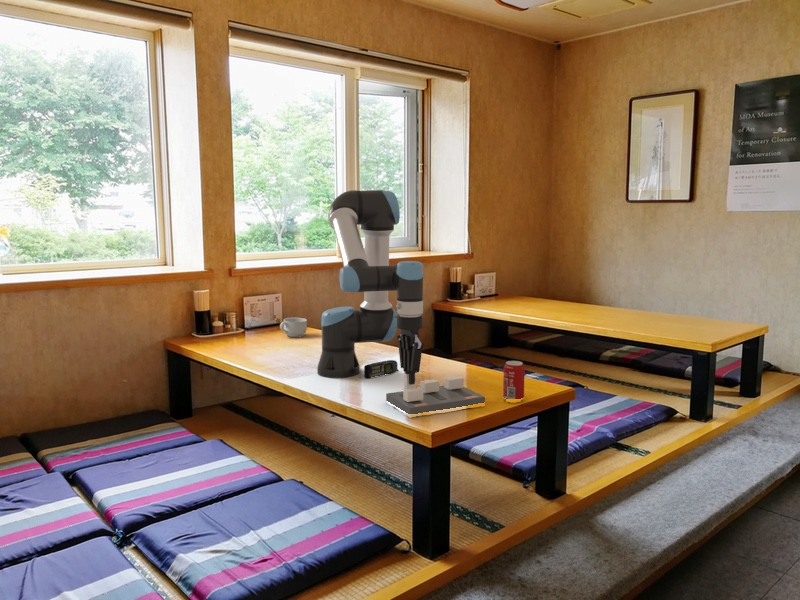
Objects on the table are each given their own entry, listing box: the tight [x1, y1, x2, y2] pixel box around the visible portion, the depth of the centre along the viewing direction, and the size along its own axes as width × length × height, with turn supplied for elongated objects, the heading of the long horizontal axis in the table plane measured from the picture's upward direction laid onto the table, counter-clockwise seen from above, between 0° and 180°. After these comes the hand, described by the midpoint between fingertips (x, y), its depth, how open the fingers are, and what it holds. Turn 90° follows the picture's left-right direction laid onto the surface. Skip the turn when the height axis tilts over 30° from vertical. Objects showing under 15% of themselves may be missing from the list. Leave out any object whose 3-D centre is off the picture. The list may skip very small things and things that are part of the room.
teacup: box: [279, 317, 308, 338], centre depth 297 cm, size 14×11×8 cm
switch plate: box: [385, 385, 486, 414], centre depth 194 cm, size 16×25×3 cm, turn 116°
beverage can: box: [502, 360, 526, 399], centre depth 197 cm, size 6×6×12 cm
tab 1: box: [402, 386, 423, 402], centre depth 188 cm, size 3×5×3 cm, turn 116°
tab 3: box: [443, 375, 464, 390], centre depth 200 cm, size 3×5×3 cm, turn 116°
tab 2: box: [419, 378, 440, 393], centre depth 197 cm, size 3×5×3 cm, turn 116°
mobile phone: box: [363, 359, 399, 379], centre depth 229 cm, size 5×3×15 cm
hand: (409, 394), depth 190 cm, fingers closed
